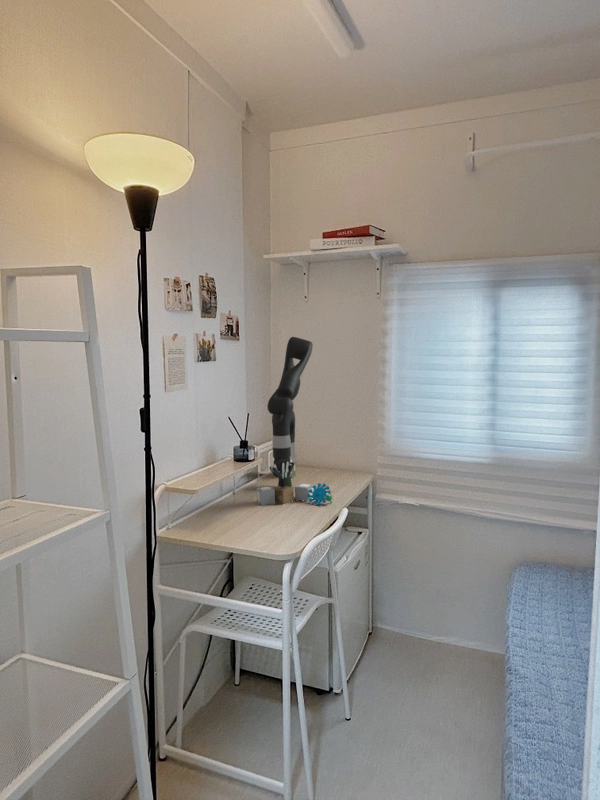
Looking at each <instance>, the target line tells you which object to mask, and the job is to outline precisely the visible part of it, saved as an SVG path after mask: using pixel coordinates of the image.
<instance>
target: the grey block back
mask: <svg viewBox="0 0 600 800" xmlns="http://www.w3.org/2000/svg"><path fill="white" fill-rule="evenodd" d="M314 485H315V484H312V483H311V484H310V483H299V484H298V485H295V486H294V500H295V499H296V500H295V501H298V500H304V501H303V502H305V501H308V502H310V501H309V499H310V498H311V499H312V498H313V497H310V498H308V494H310V495H313V494H312V493H310V492H309V490H310V489H312V492H314V488H313V486H314Z"/></svg>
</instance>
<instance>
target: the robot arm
mask: <svg viewBox="0 0 600 800" xmlns="http://www.w3.org/2000/svg"><path fill="white" fill-rule="evenodd" d="M313 345H314V344H313V342H312V341H310V340H307V339H304V338H300V337H296V336H291V337H290V338H289V340H288V342H287V344H286V349H285V358H284V364H283V370H282V374H281V378H280V381H279V385H278V387H277V389H276V390H275V391H274V392H273V394H272V395H271V397H270V398H269V399H268V403H267V410H268V413H270V414H271V415H272V416H271V424H272V458H273V459H274V460H273V465H272V466H269V470H270V472H271V473H272V474H273V476H274V478H277V479H278V481H279V486H280V487H285V486H286V478H287V476H289V475H290V477H291V479H293V478H295V477H296V471H295V472H292V473H291V471H292V470H293V466H294V465H295V466H296V443H295V442H296V441H295V438H296V415H295V412H294V400H295V399H296V397H297V396H298V394H299V391H300V387H301V376H302V374H303V372H304V371H305V368H306V366H307V364H308V362H309V360H310V357H311V356H312V351H313ZM294 359H295V360H299V361H298V362H297V364H296V365H295V363H294ZM290 459H292V462H291V461H290ZM288 470H289V471H288ZM290 473H291V474H290Z"/></svg>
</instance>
